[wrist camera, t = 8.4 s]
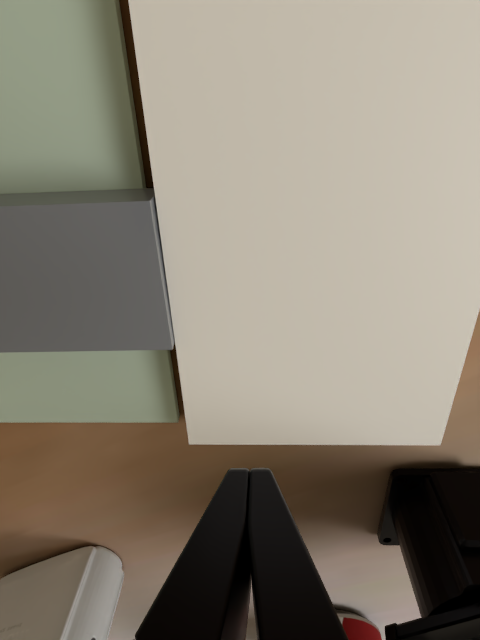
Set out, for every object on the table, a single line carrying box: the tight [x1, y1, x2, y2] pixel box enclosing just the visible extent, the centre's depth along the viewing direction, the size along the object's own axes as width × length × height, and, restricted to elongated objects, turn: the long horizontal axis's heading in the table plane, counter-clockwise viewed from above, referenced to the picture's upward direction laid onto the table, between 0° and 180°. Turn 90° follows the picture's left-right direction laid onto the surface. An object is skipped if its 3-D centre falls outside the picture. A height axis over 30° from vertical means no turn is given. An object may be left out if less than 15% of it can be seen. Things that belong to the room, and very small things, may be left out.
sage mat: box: [0, 0, 180, 422], centre depth 18 cm, size 18×11×1 cm, turn 2°
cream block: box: [128, 0, 480, 445], centre depth 16 cm, size 18×12×2 cm, turn 2°
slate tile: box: [0, 188, 175, 353], centre depth 16 cm, size 6×8×2 cm
